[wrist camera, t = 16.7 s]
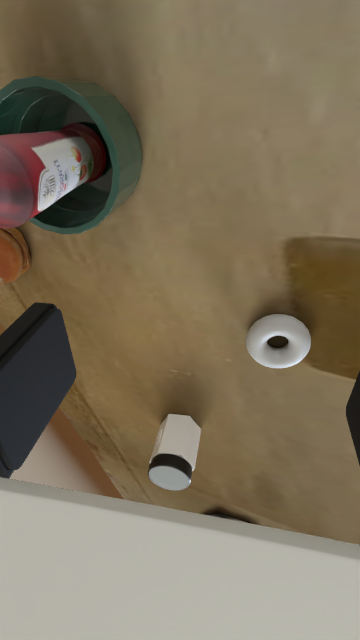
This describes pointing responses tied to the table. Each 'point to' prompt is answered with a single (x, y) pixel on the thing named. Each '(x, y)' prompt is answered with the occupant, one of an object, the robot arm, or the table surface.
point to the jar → (174, 452)
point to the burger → (13, 255)
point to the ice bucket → (87, 109)
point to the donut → (278, 327)
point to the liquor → (45, 169)
